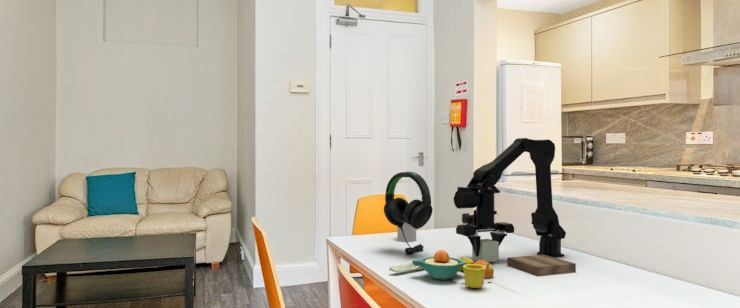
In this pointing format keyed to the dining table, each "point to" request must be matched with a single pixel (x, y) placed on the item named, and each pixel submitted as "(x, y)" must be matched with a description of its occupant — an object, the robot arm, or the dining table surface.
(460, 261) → the toy juicer set
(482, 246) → the sage block
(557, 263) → the walnut plinth
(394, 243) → the dining table surface
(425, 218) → the headset
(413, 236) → the grey block
